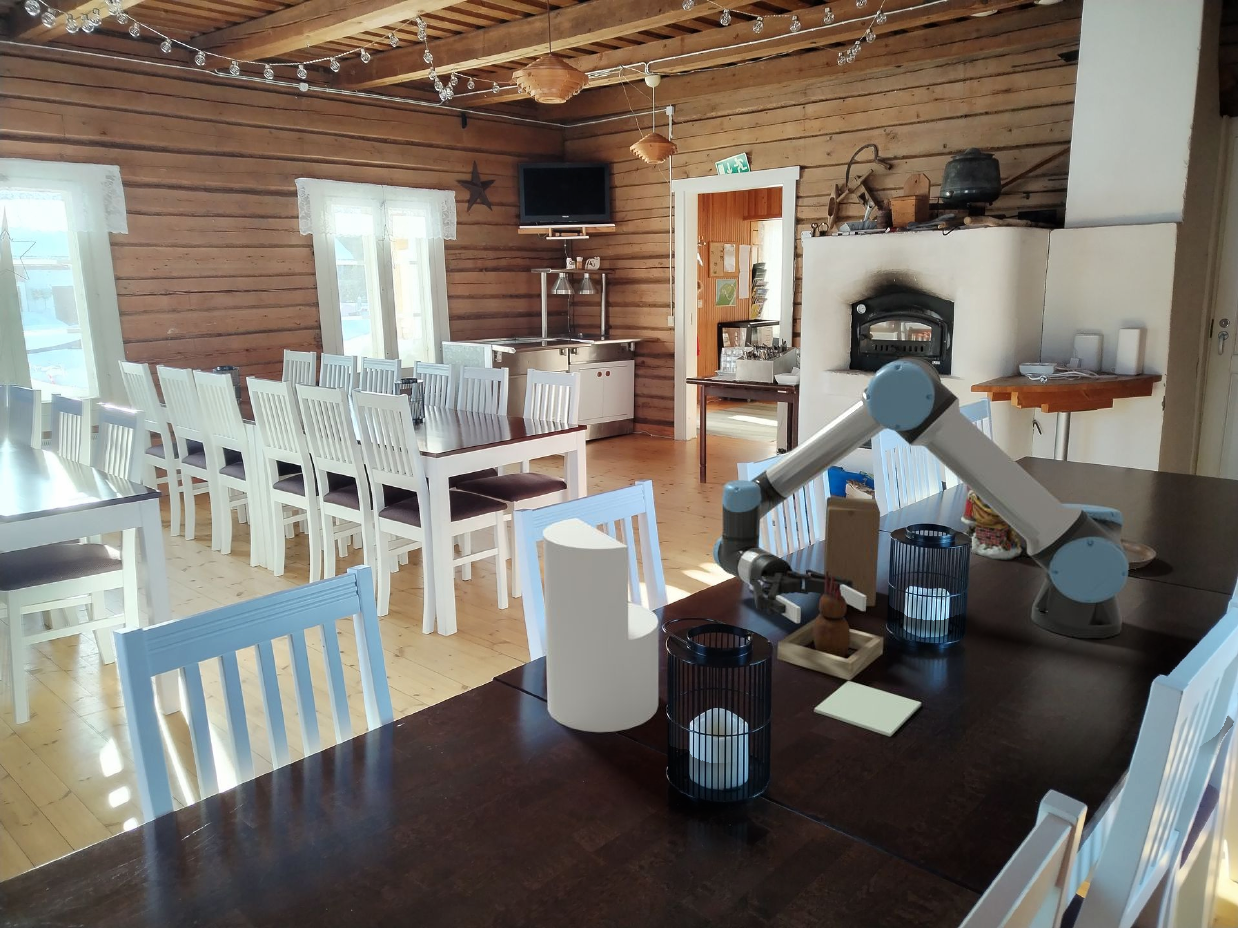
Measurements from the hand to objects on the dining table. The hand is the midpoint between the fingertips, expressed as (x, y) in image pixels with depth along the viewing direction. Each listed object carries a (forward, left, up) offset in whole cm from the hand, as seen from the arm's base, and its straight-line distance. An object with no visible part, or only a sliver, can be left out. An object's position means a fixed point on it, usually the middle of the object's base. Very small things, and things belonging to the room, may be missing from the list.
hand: (832, 609), depth 151 cm
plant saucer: (-26, -88, -9) cm, 93 cm away
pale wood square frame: (0, 0, -9) cm, 9 cm away
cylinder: (+20, +38, -9) cm, 44 cm away
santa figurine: (-3, -80, -9) cm, 81 cm away
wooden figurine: (0, 0, -9) cm, 9 cm away
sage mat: (-13, +14, -9) cm, 21 cm away
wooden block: (+10, -29, -9) cm, 32 cm away
